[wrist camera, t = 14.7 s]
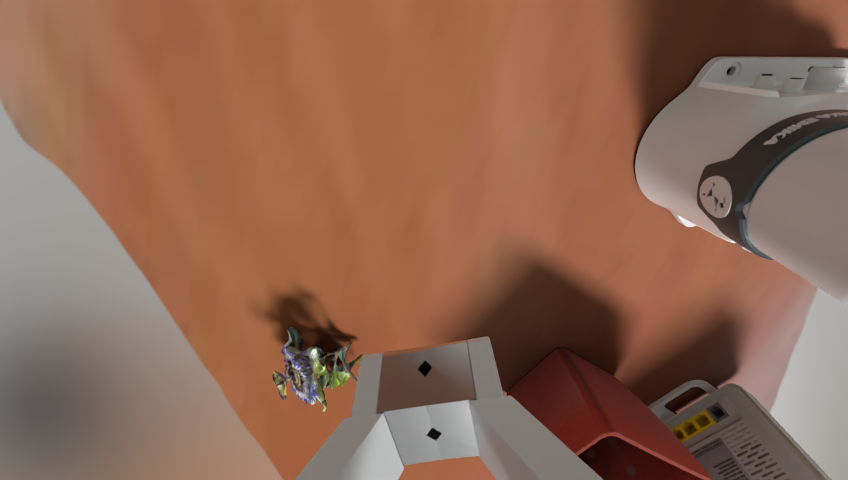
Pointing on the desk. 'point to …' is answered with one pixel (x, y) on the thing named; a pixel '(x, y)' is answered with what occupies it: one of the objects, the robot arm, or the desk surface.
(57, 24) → the desk surface
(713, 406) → the network device
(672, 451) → the plant pot
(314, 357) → the passion flower
